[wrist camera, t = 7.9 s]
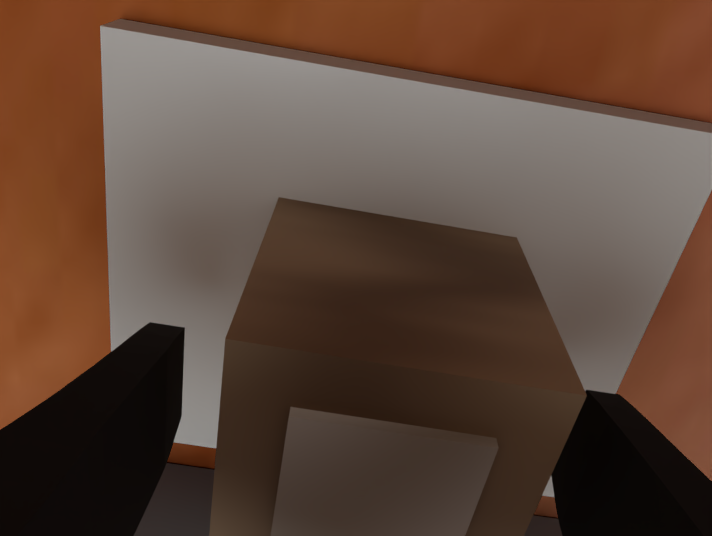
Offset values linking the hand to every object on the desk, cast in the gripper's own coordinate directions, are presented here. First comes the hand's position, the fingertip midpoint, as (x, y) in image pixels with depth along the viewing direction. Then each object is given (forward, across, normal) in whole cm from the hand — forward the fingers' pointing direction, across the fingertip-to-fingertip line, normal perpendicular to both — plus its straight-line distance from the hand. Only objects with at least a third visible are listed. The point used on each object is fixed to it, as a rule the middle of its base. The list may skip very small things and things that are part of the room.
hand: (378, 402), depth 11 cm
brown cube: (+3, 0, 0) cm, 3 cm away
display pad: (+4, 0, 0) cm, 4 cm away
